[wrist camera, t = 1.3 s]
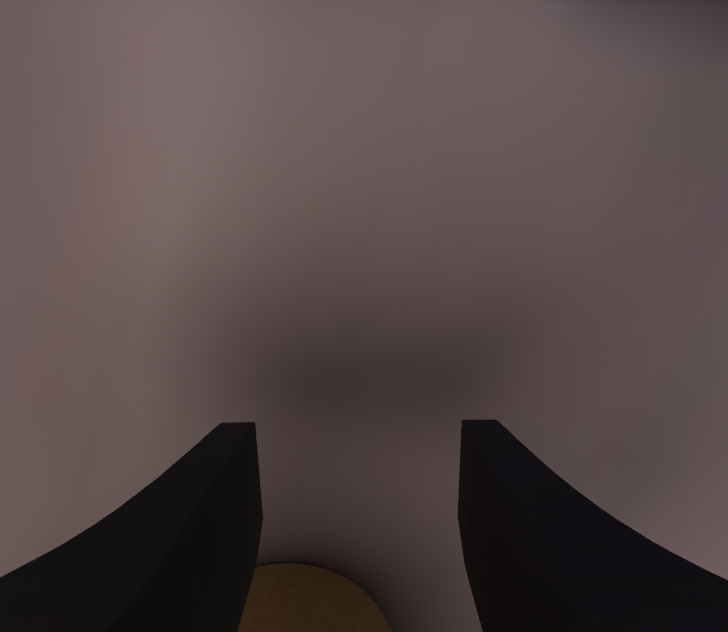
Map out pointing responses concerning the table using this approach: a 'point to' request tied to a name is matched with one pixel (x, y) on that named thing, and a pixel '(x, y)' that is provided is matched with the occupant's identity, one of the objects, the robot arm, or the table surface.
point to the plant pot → (308, 602)
